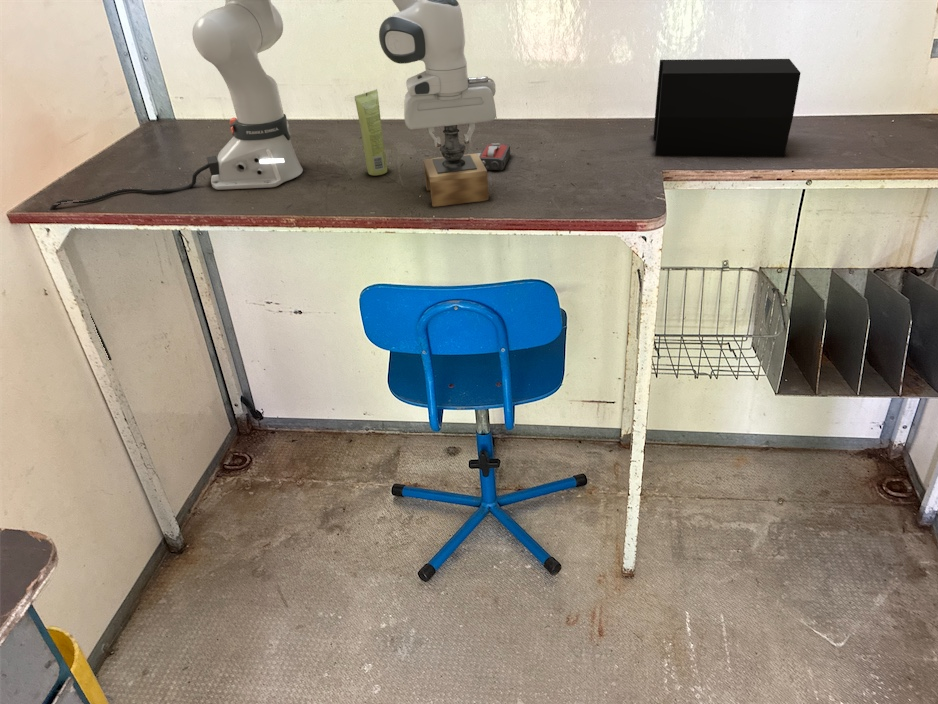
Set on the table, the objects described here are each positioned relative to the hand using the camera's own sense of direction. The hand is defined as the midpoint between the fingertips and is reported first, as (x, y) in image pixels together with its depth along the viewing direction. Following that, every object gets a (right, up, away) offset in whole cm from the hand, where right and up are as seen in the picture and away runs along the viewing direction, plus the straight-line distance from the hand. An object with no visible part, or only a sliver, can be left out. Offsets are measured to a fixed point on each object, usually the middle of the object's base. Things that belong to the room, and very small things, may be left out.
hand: (452, 144), depth 160 cm
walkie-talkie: (+7, +1, +21) cm, 22 cm away
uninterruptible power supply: (+68, +8, +27) cm, 73 cm away
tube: (-21, 0, +20) cm, 29 cm away
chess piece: (0, -4, +3) cm, 5 cm away
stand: (0, -9, +7) cm, 12 cm away
